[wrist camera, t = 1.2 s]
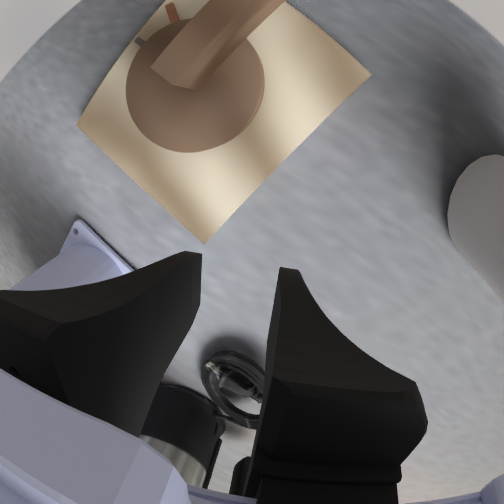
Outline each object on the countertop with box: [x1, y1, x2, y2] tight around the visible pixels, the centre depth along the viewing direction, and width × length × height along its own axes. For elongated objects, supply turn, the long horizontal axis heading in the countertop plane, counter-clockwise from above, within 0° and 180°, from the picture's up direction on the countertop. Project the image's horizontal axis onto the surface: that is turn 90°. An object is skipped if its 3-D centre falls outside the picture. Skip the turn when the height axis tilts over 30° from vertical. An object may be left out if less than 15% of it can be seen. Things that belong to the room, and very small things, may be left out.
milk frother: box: [139, 351, 265, 496], centre depth 21 cm, size 14×16×15 cm
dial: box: [126, 0, 286, 153], centre depth 13 cm, size 11×8×5 cm
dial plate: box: [76, 0, 372, 244], centre depth 17 cm, size 14×12×1 cm
